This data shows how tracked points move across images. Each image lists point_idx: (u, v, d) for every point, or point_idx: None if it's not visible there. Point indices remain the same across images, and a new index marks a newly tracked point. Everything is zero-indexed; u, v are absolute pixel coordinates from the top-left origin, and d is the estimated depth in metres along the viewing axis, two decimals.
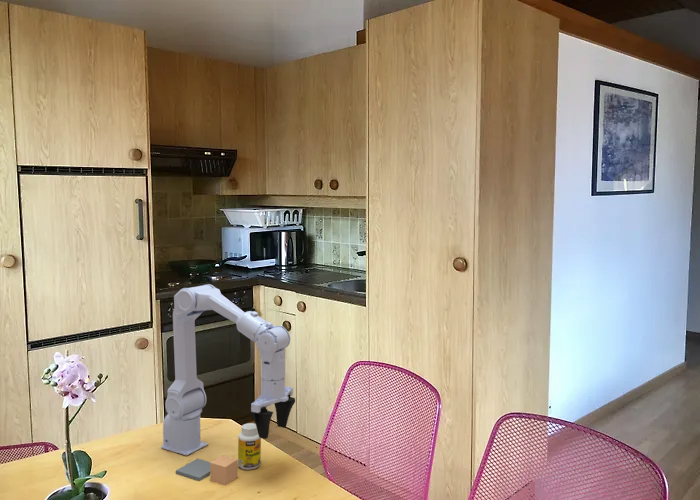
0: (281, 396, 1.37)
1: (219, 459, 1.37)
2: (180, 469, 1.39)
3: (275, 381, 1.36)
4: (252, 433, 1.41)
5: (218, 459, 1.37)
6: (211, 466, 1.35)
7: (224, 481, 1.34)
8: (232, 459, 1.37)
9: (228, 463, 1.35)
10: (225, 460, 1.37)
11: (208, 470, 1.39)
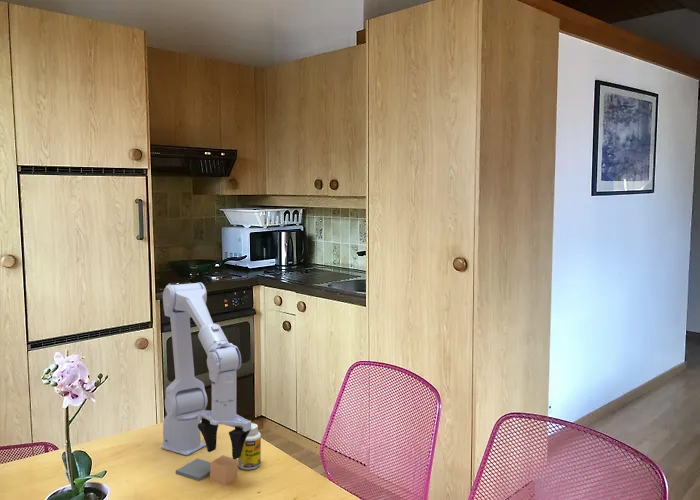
0: (214, 418, 1.33)
1: (219, 459, 1.37)
2: (180, 469, 1.39)
3: None
4: (251, 433, 1.41)
5: (218, 459, 1.37)
6: (211, 466, 1.35)
7: (224, 481, 1.34)
8: (232, 459, 1.37)
9: (228, 463, 1.35)
10: (225, 460, 1.37)
11: (208, 470, 1.39)
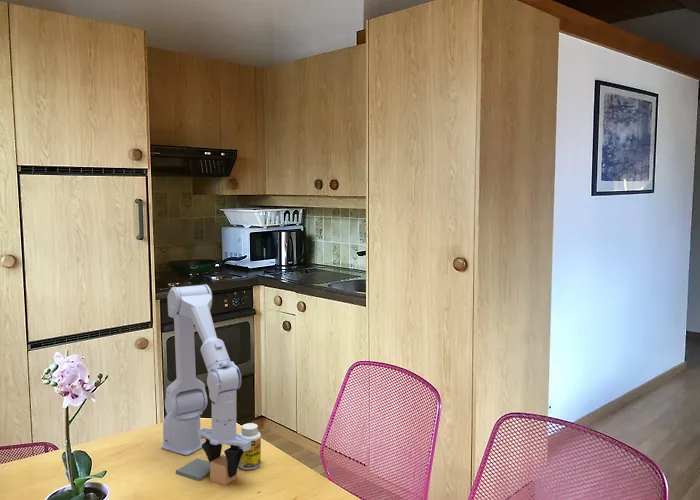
0: (214, 437, 1.33)
1: (219, 459, 1.37)
2: (180, 469, 1.39)
3: None
4: (251, 433, 1.41)
5: (218, 459, 1.37)
6: (211, 466, 1.35)
7: (224, 481, 1.34)
8: None
9: None
10: (225, 460, 1.37)
11: (208, 470, 1.39)
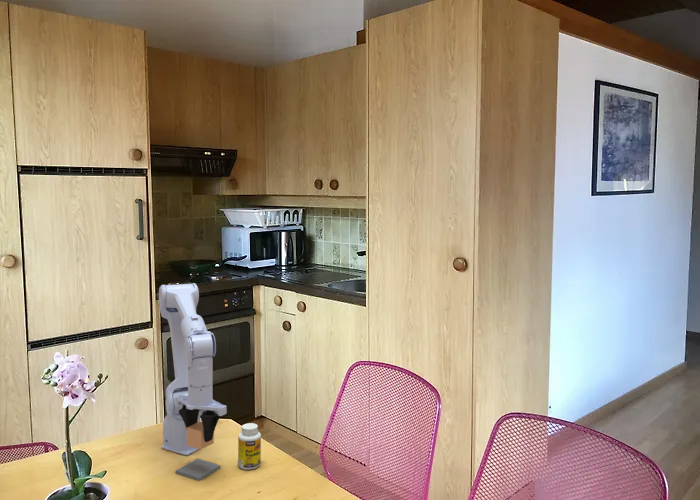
0: (190, 403, 1.36)
1: (196, 424, 1.40)
2: (180, 469, 1.39)
3: (188, 385, 1.37)
4: (251, 433, 1.41)
5: (195, 425, 1.40)
6: (187, 431, 1.38)
7: (200, 445, 1.37)
8: None
9: None
10: (201, 425, 1.39)
11: (208, 470, 1.39)
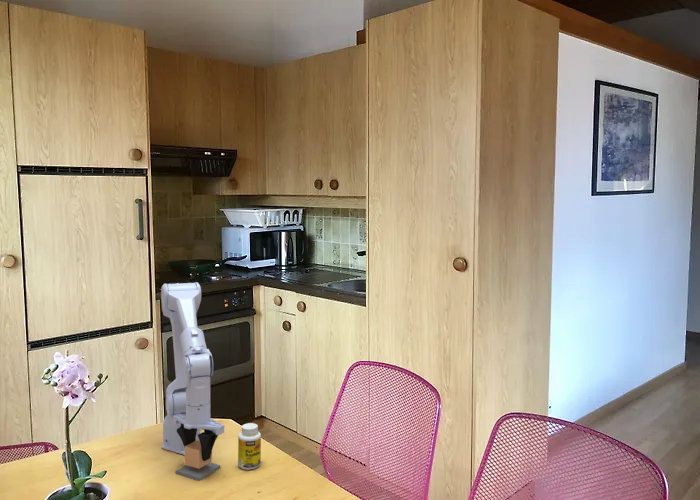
0: (188, 422, 1.37)
1: (193, 443, 1.40)
2: (180, 469, 1.39)
3: (186, 404, 1.38)
4: (252, 433, 1.41)
5: (193, 443, 1.40)
6: (185, 450, 1.39)
7: (198, 464, 1.37)
8: None
9: None
10: (199, 444, 1.40)
11: (208, 470, 1.39)
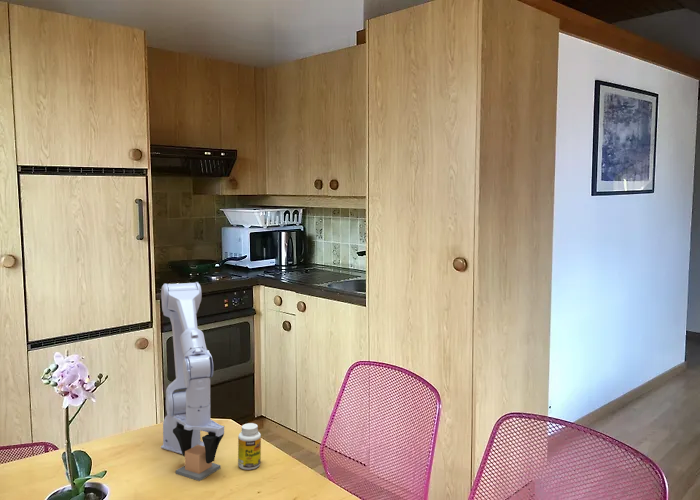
0: (188, 423, 1.37)
1: (194, 448, 1.41)
2: (180, 469, 1.39)
3: (186, 405, 1.38)
4: (251, 433, 1.41)
5: (193, 448, 1.40)
6: (186, 455, 1.39)
7: (198, 469, 1.37)
8: None
9: (202, 452, 1.39)
10: (199, 449, 1.40)
11: (208, 470, 1.39)
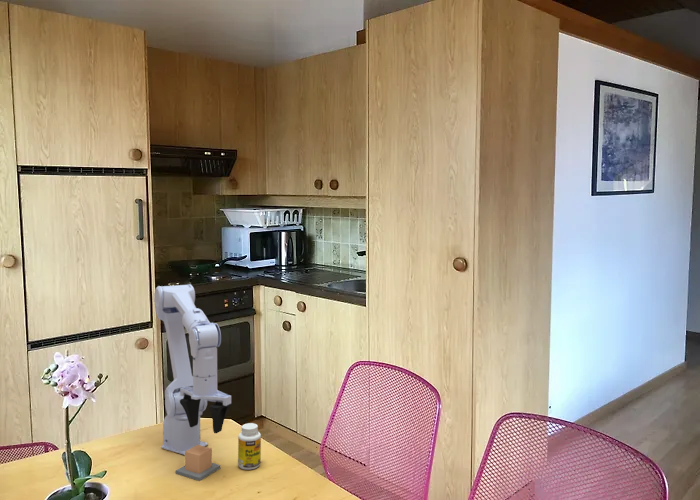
0: (195, 393, 1.37)
1: (194, 448, 1.41)
2: (180, 469, 1.39)
3: (193, 375, 1.38)
4: (251, 433, 1.41)
5: (193, 448, 1.40)
6: (186, 455, 1.39)
7: (198, 469, 1.37)
8: (206, 448, 1.41)
9: (202, 452, 1.39)
10: (199, 449, 1.40)
11: (208, 470, 1.39)
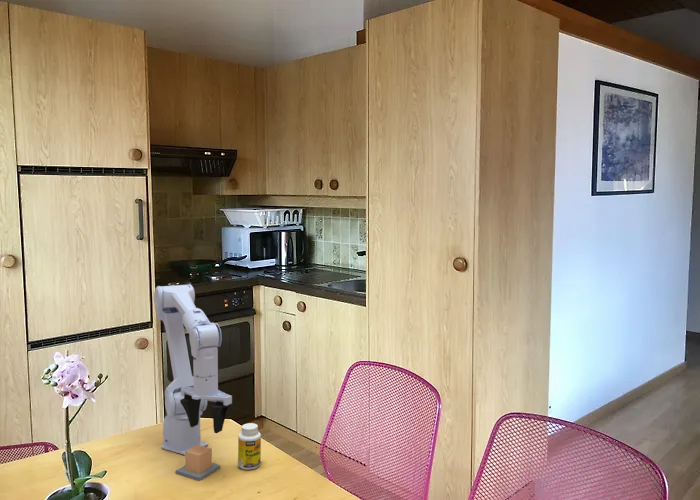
0: (196, 393, 1.37)
1: (194, 448, 1.41)
2: (180, 469, 1.39)
3: None
4: (252, 433, 1.41)
5: (193, 448, 1.40)
6: (186, 455, 1.39)
7: (198, 469, 1.37)
8: (206, 448, 1.41)
9: (202, 452, 1.39)
10: (199, 449, 1.40)
11: (208, 470, 1.39)
